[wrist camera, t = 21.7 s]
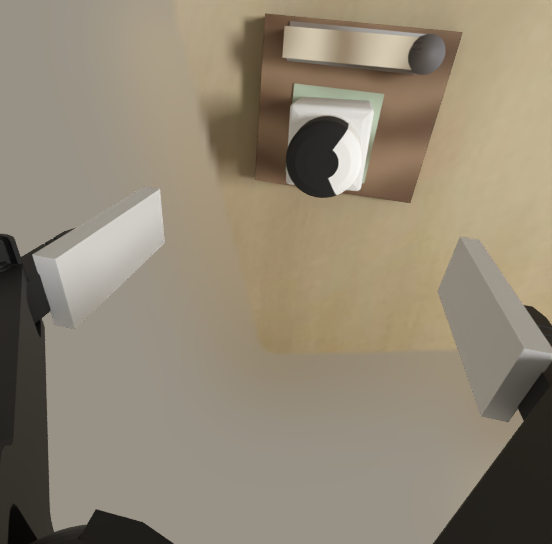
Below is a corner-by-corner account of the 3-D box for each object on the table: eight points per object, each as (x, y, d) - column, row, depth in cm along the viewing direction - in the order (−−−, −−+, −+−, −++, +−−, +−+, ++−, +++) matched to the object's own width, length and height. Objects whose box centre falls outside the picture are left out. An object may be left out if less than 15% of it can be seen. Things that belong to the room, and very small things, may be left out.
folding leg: (444, 36, 31) (450, 35, 29) (433, 75, 33) (438, 76, 31) (289, 24, 33) (284, 21, 31) (286, 61, 35) (281, 61, 33)
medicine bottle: (295, 166, 40) (275, 202, 30) (300, 95, 36) (279, 110, 26) (359, 172, 39) (361, 211, 29) (371, 100, 35) (378, 117, 25)
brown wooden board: (269, 15, 35) (264, 13, 33) (457, 33, 33) (463, 32, 31) (259, 175, 44) (254, 180, 42) (408, 197, 41) (410, 203, 40)
